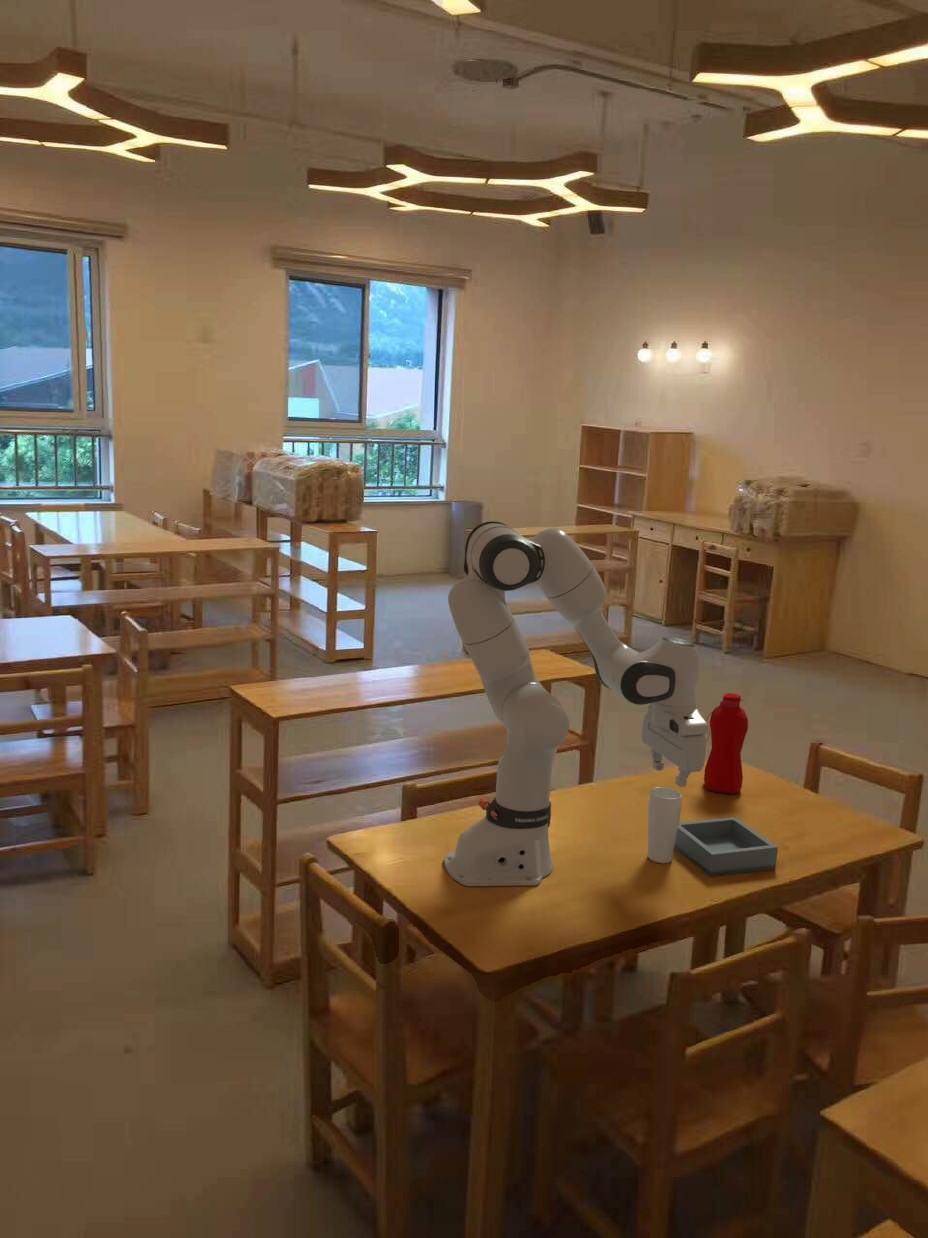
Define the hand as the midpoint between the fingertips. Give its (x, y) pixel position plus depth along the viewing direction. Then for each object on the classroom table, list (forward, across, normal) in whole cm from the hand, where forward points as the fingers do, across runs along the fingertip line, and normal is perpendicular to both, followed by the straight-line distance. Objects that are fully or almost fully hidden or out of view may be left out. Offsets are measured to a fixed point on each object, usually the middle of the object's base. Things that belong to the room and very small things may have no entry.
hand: (669, 777), depth 212 cm
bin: (+19, +2, +13) cm, 23 cm away
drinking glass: (+19, 0, -1) cm, 19 cm away
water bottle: (+20, -34, +35) cm, 53 cm away
